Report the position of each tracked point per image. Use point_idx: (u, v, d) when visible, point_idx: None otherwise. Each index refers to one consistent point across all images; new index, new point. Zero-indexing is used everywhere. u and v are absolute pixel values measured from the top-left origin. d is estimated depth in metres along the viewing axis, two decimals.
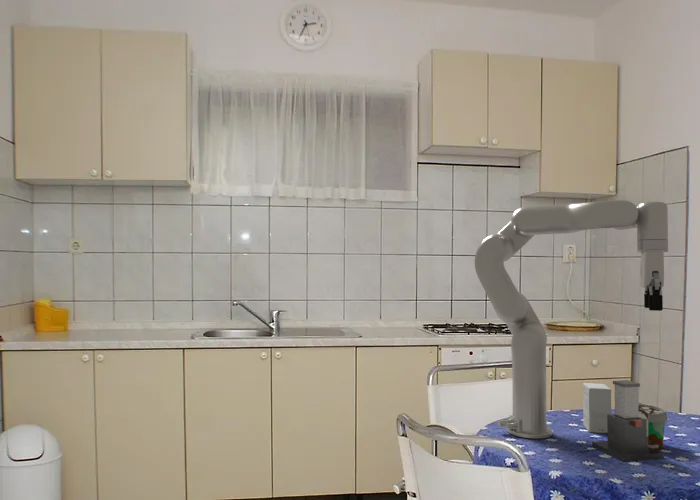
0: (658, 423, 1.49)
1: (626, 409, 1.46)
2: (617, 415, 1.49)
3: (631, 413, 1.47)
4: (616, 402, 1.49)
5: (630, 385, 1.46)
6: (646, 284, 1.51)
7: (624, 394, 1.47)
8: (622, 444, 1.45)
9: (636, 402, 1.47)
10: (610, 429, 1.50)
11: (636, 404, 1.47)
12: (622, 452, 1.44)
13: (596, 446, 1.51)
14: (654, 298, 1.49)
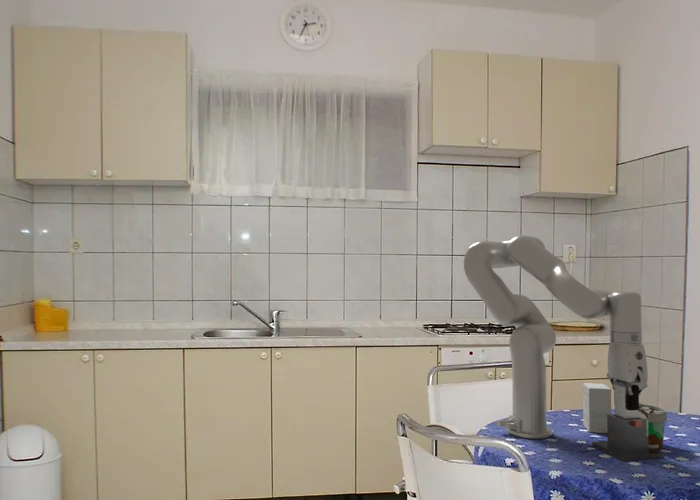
0: (658, 423, 1.49)
1: (626, 409, 1.46)
2: (617, 415, 1.49)
3: (631, 413, 1.47)
4: (616, 402, 1.49)
5: None
6: None
7: (624, 394, 1.47)
8: (622, 444, 1.45)
9: None
10: (610, 429, 1.50)
11: None
12: (622, 452, 1.44)
13: (596, 446, 1.51)
14: None
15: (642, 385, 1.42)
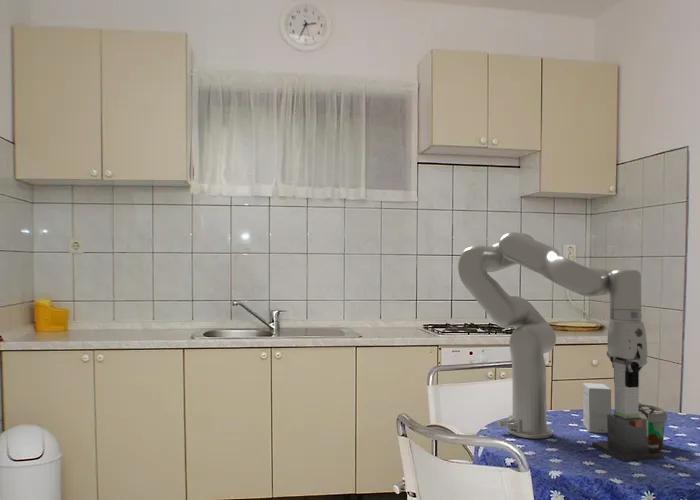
0: (658, 423, 1.49)
1: (626, 387, 1.46)
2: (617, 393, 1.49)
3: (630, 391, 1.47)
4: (616, 380, 1.50)
5: None
6: None
7: (624, 371, 1.47)
8: (622, 444, 1.45)
9: None
10: (610, 429, 1.50)
11: None
12: (622, 452, 1.44)
13: (596, 446, 1.51)
14: None
15: (642, 362, 1.42)
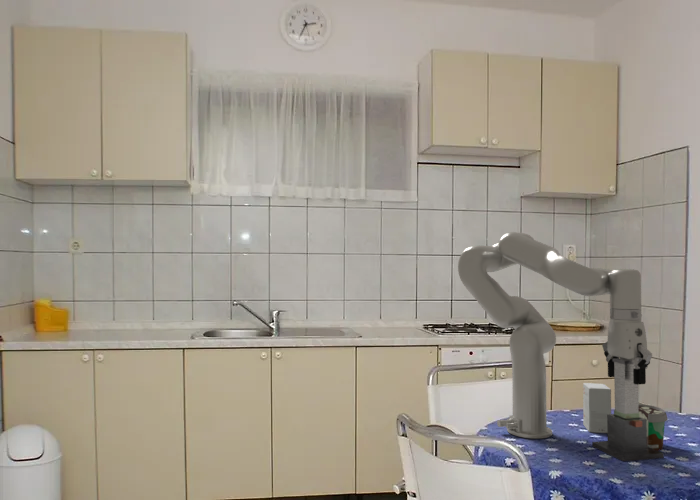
0: (658, 423, 1.49)
1: (626, 386, 1.46)
2: (617, 392, 1.49)
3: (630, 390, 1.47)
4: (616, 379, 1.50)
5: (630, 362, 1.47)
6: None
7: (624, 371, 1.47)
8: (622, 444, 1.45)
9: None
10: (610, 429, 1.50)
11: None
12: (622, 452, 1.44)
13: (596, 446, 1.51)
14: None
15: (647, 354, 1.41)
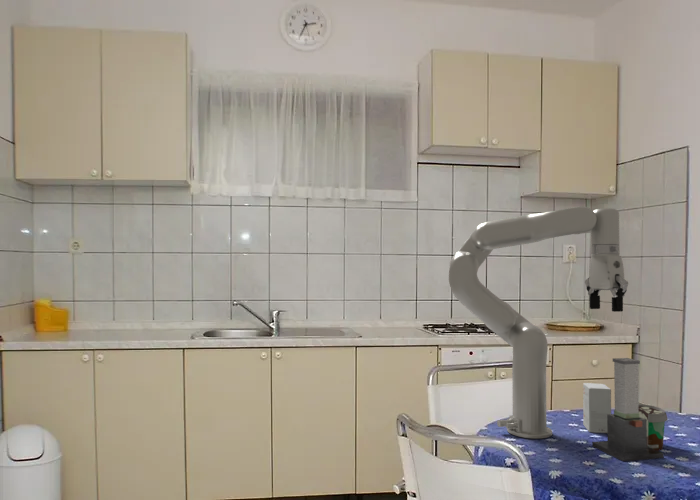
0: (658, 423, 1.49)
1: (626, 386, 1.46)
2: (617, 392, 1.49)
3: (630, 390, 1.47)
4: (616, 379, 1.50)
5: (630, 362, 1.47)
6: None
7: (624, 371, 1.47)
8: (622, 444, 1.45)
9: (636, 379, 1.47)
10: (610, 429, 1.50)
11: (636, 381, 1.47)
12: (622, 452, 1.44)
13: (596, 446, 1.51)
14: None
15: (623, 283, 1.55)
